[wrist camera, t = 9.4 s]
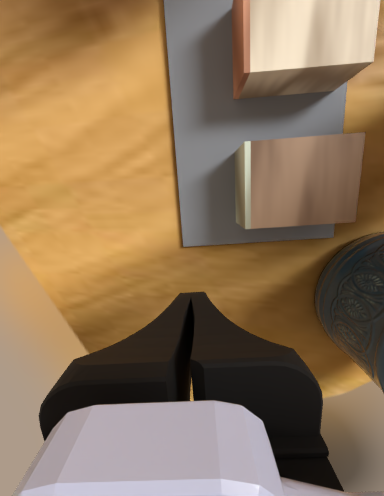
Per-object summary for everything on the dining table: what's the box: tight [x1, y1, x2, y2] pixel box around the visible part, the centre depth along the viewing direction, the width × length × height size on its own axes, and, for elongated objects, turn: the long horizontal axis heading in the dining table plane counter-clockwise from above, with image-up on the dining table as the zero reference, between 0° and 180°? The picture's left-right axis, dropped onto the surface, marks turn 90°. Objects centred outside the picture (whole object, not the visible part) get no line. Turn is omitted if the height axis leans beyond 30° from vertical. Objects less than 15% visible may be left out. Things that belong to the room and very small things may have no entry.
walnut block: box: [234, 132, 366, 229], centre depth 17 cm, size 4×6×8 cm
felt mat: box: [164, 0, 347, 247], centre depth 18 cm, size 14×20×1 cm
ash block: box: [232, 0, 380, 99], centre depth 15 cm, size 4×6×8 cm
